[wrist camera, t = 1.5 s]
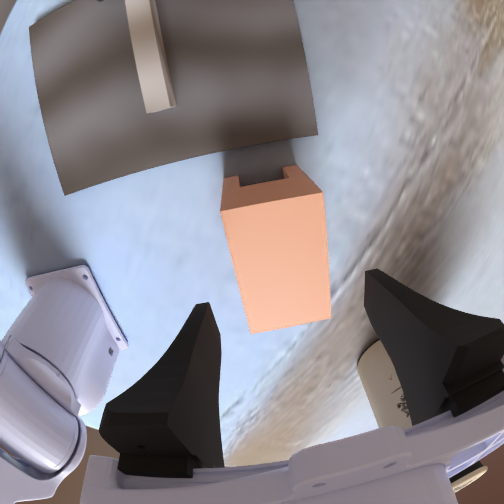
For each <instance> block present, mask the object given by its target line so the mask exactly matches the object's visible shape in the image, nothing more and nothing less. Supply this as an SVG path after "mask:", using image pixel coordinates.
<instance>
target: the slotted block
mask: <svg viewBox="0 0 504 504" xmlns="http://www.w3.org/2000/svg"><path fill="white" fill-rule="evenodd" d="M282 169H283V176H284V179H280V180H274V181H269V182H263V183H258V184H253V185H247V186H242V187H241V186H240V181H239V176H238V175H236V176H231V177H226V178H224V180H223V189H222V199H221V209H220V212H221V217H222V221H223V225H224V229H225V233H226V237H227V241H228V246H229V250H230V254H231V258H232V262H233V266H234V270H235V274H236V278H237V282H238V286H239V290H240V294H241V298H242V302H243V306H244V309H245V313H246V317H247V321H248V325H249V329H250V333H251V334H254V333H259V332H265V331H270V330H276V329H281V328H286V327H291V326H296V325H301V324H306V323H311V322H316V321H320V320H325V319H329V318H331V301H330V277H329V259H328V244H327V230H326V218H325V207H324V196H323V192H322V191H321V190H320V189H319V188H318V186H317V185H316V184H315V183H314V182H313V181H312V180H311V179H310V178H309V177H308V176H307V175H306V174H305V173H304V172H303V171H302V170H301V169H300V168H299V167H298V166H297V165H292V166H286V167H282Z"/></svg>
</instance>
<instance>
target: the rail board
mask: <svg viewBox="0 0 504 504" xmlns="http://www.w3.org/2000/svg"><path fill="white" fill-rule="evenodd" d="M29 34H30V45H31V54H32V62H33V69H34V76H35V82H36V88H37V93H38V99H39V104H40V108H41V113H42V118H43V122H44V126H45V130H46V134H47V138H48V142H49V146H50V150H51V153H52V157H53V160H54V164H55V167H56V170H57V174H58V177H59V180H60V183H61V186H62V189H63V192H64V195H65V196H66V195H68V194H71V193H74V192H77V191H80V190H82V189H85V188H88V187H91V186H94V185H97V184H100V183H103V182H107V181H110V180H113V179H116V178H119V177H123V176H126V175H129V174H133V173H136V172H140V171H143V170H147V169H150V168H154V167H158V166H161V165H165V164H169V163H173V162H177V161H181V160H185V159H189V158H194V157H198V156H202V155H207V154H211V153H216V152H220V151H225V150H230V149H235V148H240V147H245V146H251V145H256V144H262V143H268V142H274V141H280V140H286V139H293V138H300V137H307V136H314V135H318V130H317V123H316V117H315V110H314V104H313V97H312V91H311V86H310V80H309V74H308V69H307V63H306V58H305V53H304V48H303V43H302V38H301V34H300V29H299V25H298V20H297V16H296V11H295V7H294V3H293V0H75V1H73V2H71V3H69V4H67V5H65V6H64V7H62V8H60V9H58V10H56V11H55V12H53V13H51V14H49V15H48V16H46V17H44V18H43V19H41V20H39V21H38V22H36V23H35V24H33V25H31V26H30V27H29Z"/></svg>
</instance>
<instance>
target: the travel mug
mask: <svg viewBox="0 0 504 504" xmlns="http://www.w3.org/2000/svg"><path fill="white" fill-rule="evenodd" d="M357 370H358V374H359V376H360V379H361V381H362V384H363V386H364V389H365V392H366V394H367V397H368V399H369V402H370V405H371V407H372V410H373V413H374V416H375V418H376V421H377V424H378V426H379V428H382V427H387V426H391V425H392V426H399V427H402V429H406V428H409V427H411V426H412V423H411V418H410V414H409V410H408V407H407V403H406V400H405V396H404V393H403V390H402V387H401V384H400V381H399V379H398V376H397V373H396V371H395V368H394V365H393V363H392V361H391V359H390V357H389V355H388V353H387V351H386V350H385V348H384V346H383V344H382V342H381V341H380V340H379V341H377V342H376V343H374V344H373V345H372V346H371V347H369V348H368V349H367V350H366V352H365V353H364V354H363V355H362V357H361V358H360V360H359V363H358V367H357ZM486 471H487V467H486V466H483V465H482V464H481V462H480V461H479V460H478V461H477V462H475V463H474V464H472V465H471V466H469V467H467V468H466V469H464V470H462V471H461V472H459V473H457V474H455V475H454V476H452V477H450V478H449V480H450V483H451V485H452V488H453V491H454V493H455V492H456V491H458V490H460V489H462V488H463V487H465V486H467V485H468V484H470V483H471V482H473V481H474V480H476V479H477V478H479V477H480V476H481V475H483V474H484V473H485V472H486Z"/></svg>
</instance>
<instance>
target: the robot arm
mask: <svg viewBox="0 0 504 504" xmlns="http://www.w3.org/2000/svg"><path fill="white" fill-rule="evenodd" d="M85 275H87V277H85ZM25 284H26V286H27V288H28V290H29V291H30V293H31V295H32V298H31V300H30V301H29V302H28V304H27V305H26V306H25V308H24V309H23V310H22V312H21V313H20V315H19V316H18V317H17V319H16V320H15V322H14V323H13V325H12V326H11V327H10V329H9V330H8V332H7V333H6V335H5V336H4V338H3V339H2V341H0V445H1V446H3V447H4V448H5V449H7V450H8V451H10V452H11V453H12V454H14V455H15V456H17V457H18V458H19V459H17V458H15V457H13V456H11V455H9V454H8V453H7V452H5V451H4V450H3V449H1V448H0V504H15V503H16V502H20V501H28V500H39V499H46V498H50V497H53V495H54V493H55V491H56V489H57V487H58V485H59V484H60V483H61V481H62V480H63V479H64V478H65V477H66V476H67V475H68V474H69V473H71V472H72V471H73V470H74V469H75V468H76V467H77V466H78V464H79V463H80V461H81V460H82V458H83V455H84V452H85V448H86V440H87V433H86V427H85V424H84V422H83V421H82V420H81V418H80V417H78V416H82V415H85V414H87V413H89V412H91V411H92V410H94V409H95V408H96V407H97V406H98V405H99V404H100V402H101V401H102V399H103V398H104V396H105V393H106V390H107V387H108V384H109V381H110V378H111V374H112V371H113V368H114V365H115V362H116V359H117V356H118V353H119V351H120V350H126V349H127V348H128V343H127V341H126V340H125V338H124V336H123V334H122V333H121V331H120V329H119V327H118V325H117V324H116V322H115V320H114V318H113V316H112V314H111V313H110V311H109V309H108V307H107V305H106V303H105V301H104V299H103V297H102V295H101V293H100V291H99V289H98V287H97V285H96V283H95V281H94V279H93V277H92V275H91V272H90V270H89V268H88V267H87V266H85V265H79V266H75V267H71V268H66V269H62V270H58V271H53V272H49V273H45V274H41V275H36V276H32V277H28V278H27V279H26V280H25ZM364 307H365V310H366V312H367V315H368V317H369V320H370V322H371V324H372V326H373V328H374V330H375V332H376V333H377V335H378V337H379V339H380V341H381V342H382V344H383V346H384V348H385V350H386V351H387V353H388V355H389V357H390V359H391V361H392V363H393V365H394V368H395V371H396V373H397V376H398V379H399V381H400V384H401V387H402V390H403V393H404V396H405V400H406V403H407V407H408V410H409V414H410V418H411V423H412V426H411V427H409V428H406V429H402V427H399V426H392V425H391V426H387V427H382V428H379V429H375V430H372V431H369V432H366V433H362V434H359V435H355V436H352V437H348V438H344V439H340V440H336V441H332V442H328V443H324V444H319V445H315V446H312V447H308V448H305V449H302V450H300V451H298V452H297V453H295V454H293V455H292V456H291V457H290V459H289V460H286V461H280V462H273V463H265V464H257V465H248V466H238V467H224V460H223V452H222V442H221V432H220V419H219V381H220V367H221V338H220V332H219V329H218V327H217V324H216V321H215V318H214V315H213V312H212V309H211V306H210V303H209V302H207V303H201V304H196V305H195V307H194V308H193V310H192V312H191V314H190V315H189V317H188V319H187V320H186V322H185V324H184V326H183V327H182V329H181V330H180V332H179V334H178V335H177V337H176V338H175V340H174V341H173V342H172V344H171V345H170V347H169V348H168V350H167V351H166V352H165V353H164V355H163V356H162V357H161V358H160V359H159V361H158V362H157V363H156V364H155V365H154V366H153V367H152V368H151V369H150V370H149V371H148V372H147V373H146V374H145V375H144V376H143V377H142V378H141V379H140V380H138V381H137V382H136V383H135V384H134V385H132V386H131V387H130V388H129V389H127V390H126V391H125V392H123V393H122V394H120V395H119V396H117V397H116V398H114V399H113V400H111V401H110V402H108V403H106V406H105V409H104V412H103V416H102V420H101V424H100V428H99V433H100V435H101V436H102V438H103V439H104V440H105V441H106V442H107V443H108V444H109V445H111V446H112V447H113V448H114V449H115V450H117V451H118V452H119V453H120V458H119V460H117V459H115V458H111V457H104V456H97V455H90V456H89V460H88V465H87V470H86V474H85V478H84V483H83V488H82V493H81V498H80V503H81V504H458V502H457V499H456V496H455V493H454V491H453V488H452V485H451V483H450V480H449V478H450V477H452V476H454V475H455V474H457V473H459V472H461V471H462V470H464V469H466V468H467V467H469V466H471V465H472V464H474V463H475V462H477V461H478V460H480V459H481V458H483V457H485V456H486V455H487V454H489V453H490V452H492V451H493V450H495V449H496V448H498V447H499V446H500V445H502V444H503V443H504V372H503V371H502V369H503V368H504V365H503V363H502V362H501V358H502V357H503V355H504V324H503V323H502V322H501V320H500V319H496V318H489V317H482V316H477V315H473V314H468V313H465V312H461V311H458V310H455V309H452V308H449V307H447V306H444V305H442V304H439V303H437V302H435V301H432V300H430V299H428V298H426V297H424V296H423V295H421V294H419V293H417V292H415V291H413V290H412V289H410V288H408V287H406V286H405V285H403V284H402V283H400V282H398V281H397V280H395V279H394V278H392V277H390V276H389V275H387V274H386V273H384V272H382V271H381V270H379V269H373V270H368V271H365V294H364ZM118 337H119V338H118Z"/></svg>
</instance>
